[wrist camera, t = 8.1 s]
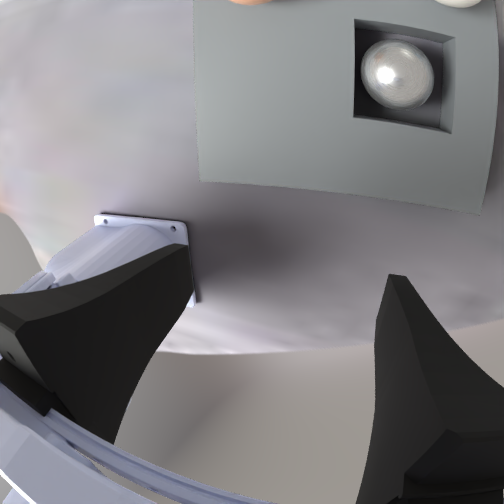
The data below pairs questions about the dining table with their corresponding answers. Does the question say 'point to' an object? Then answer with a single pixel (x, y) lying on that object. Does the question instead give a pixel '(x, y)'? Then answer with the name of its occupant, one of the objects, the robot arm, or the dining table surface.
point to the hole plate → (341, 100)
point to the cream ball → (459, 3)
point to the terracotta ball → (250, 2)
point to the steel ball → (397, 74)
